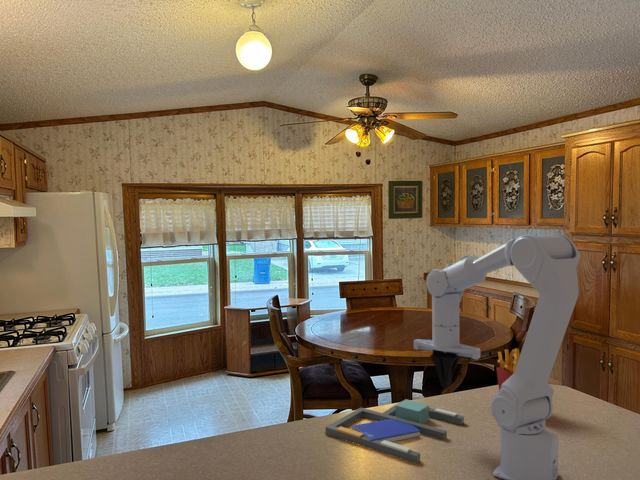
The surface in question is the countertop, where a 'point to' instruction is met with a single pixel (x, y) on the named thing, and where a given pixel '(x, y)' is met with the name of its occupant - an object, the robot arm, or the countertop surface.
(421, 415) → the teal block
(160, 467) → the countertop surface
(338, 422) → the gray open frame
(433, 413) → the bar
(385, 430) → the blue book
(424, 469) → the countertop surface
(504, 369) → the french fries
